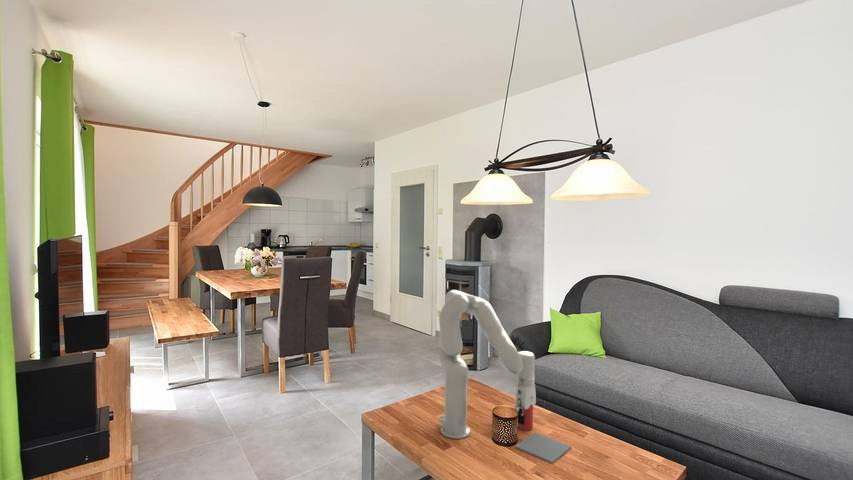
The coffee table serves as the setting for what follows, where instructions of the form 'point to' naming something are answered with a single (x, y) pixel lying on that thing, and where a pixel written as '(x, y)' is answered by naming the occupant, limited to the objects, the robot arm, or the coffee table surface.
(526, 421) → the beer can
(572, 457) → the coffee table surface
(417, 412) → the coffee table surface
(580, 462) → the coffee table surface
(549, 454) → the slate mat
